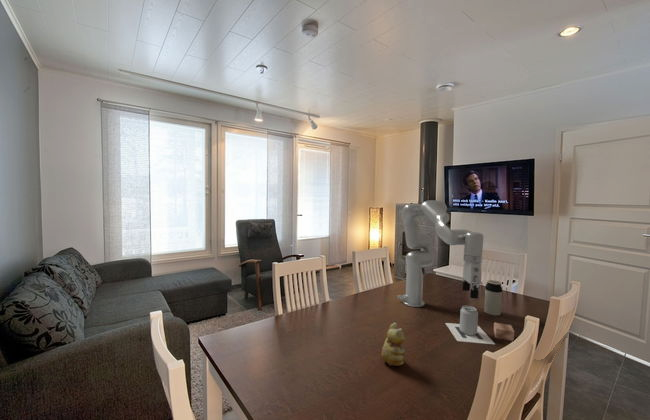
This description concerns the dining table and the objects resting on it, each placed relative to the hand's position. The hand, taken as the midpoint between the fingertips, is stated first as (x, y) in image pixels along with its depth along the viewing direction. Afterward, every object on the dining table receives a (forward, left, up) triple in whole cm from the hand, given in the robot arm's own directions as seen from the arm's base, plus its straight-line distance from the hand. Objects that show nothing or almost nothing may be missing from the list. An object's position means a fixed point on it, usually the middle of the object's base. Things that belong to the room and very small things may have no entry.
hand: (469, 294), depth 132 cm
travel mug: (+23, +28, -19) cm, 41 cm away
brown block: (+16, -1, -19) cm, 25 cm away
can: (0, 0, -19) cm, 19 cm away
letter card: (0, 0, -19) cm, 19 cm away
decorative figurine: (-39, -30, -19) cm, 53 cm away
